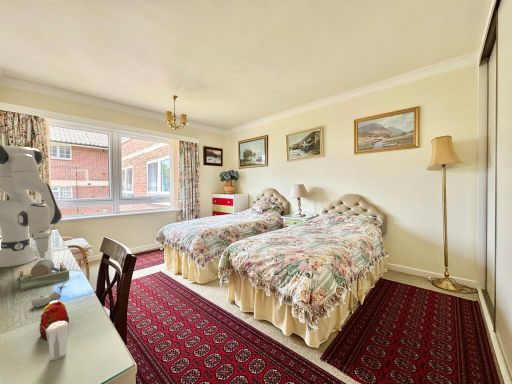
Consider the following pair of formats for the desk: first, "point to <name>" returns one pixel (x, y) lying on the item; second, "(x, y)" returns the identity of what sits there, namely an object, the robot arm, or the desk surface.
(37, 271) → the ceramic mug
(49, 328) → the white tooth model
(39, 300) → the smooth white sculpture
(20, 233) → the robot arm
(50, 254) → the desk surface
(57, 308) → the red clay folk toy
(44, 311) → the watch
